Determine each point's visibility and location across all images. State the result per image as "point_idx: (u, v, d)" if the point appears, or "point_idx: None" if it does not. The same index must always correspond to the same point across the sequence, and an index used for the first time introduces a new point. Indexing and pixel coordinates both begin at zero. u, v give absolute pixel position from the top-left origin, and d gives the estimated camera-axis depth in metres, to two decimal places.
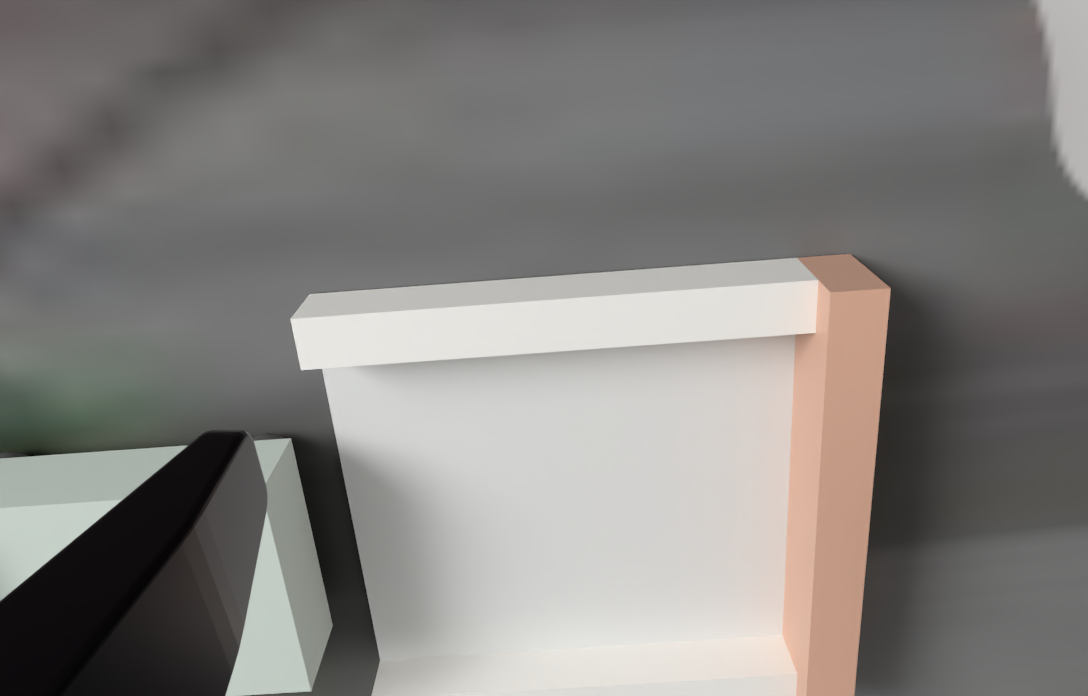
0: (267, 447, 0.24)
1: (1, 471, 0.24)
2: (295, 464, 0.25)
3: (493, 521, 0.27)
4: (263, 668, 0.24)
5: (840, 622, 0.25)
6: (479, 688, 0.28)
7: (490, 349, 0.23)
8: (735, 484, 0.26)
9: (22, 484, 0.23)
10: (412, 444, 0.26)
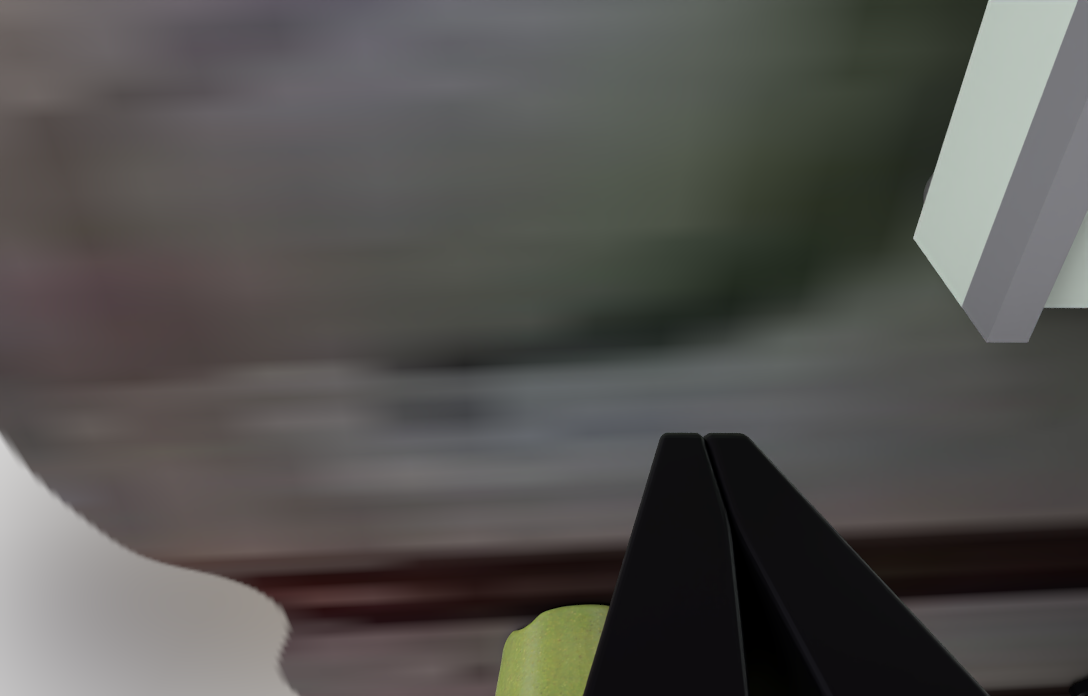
0: None
1: None
2: None
3: None
4: None
5: None
6: None
7: None
8: None
9: None
10: None
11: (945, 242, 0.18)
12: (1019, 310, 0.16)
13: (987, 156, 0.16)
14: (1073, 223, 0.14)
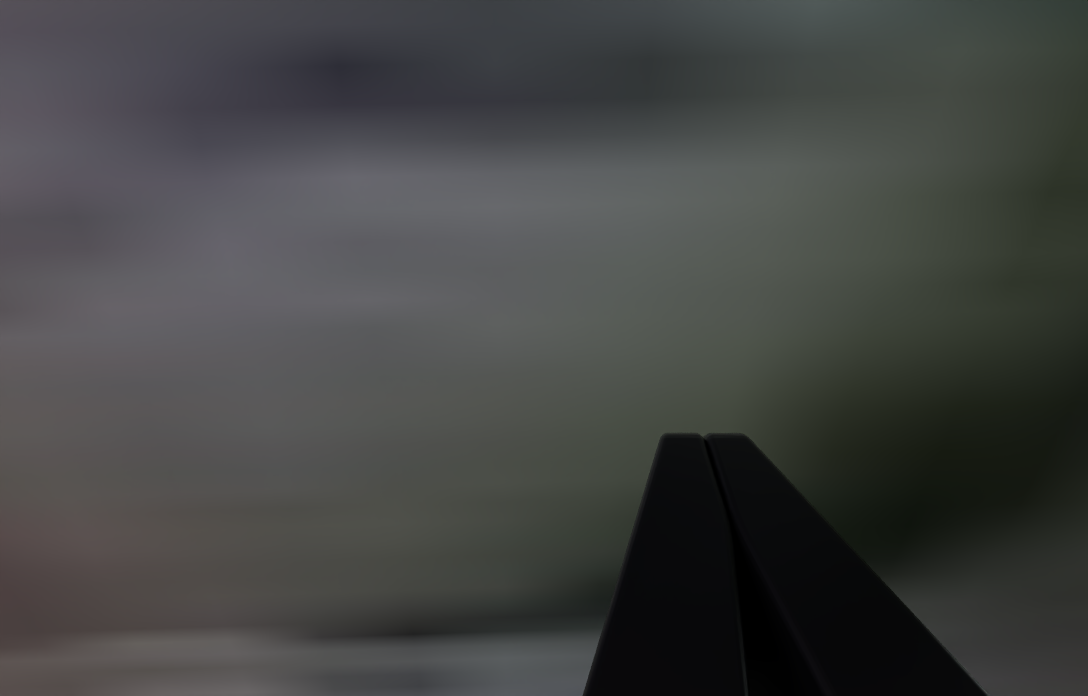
0: None
1: None
2: None
3: None
4: None
5: None
6: None
7: None
8: None
9: None
10: None
11: None
12: None
13: None
14: None
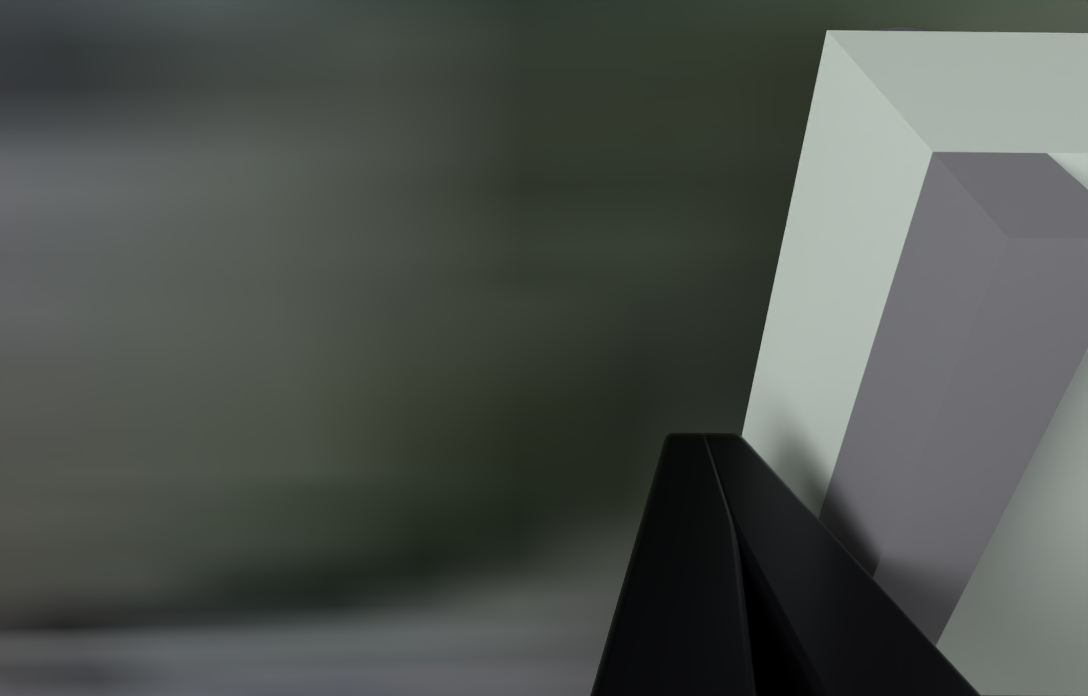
0: None
1: (1049, 59, 0.07)
2: None
3: None
4: None
5: None
6: None
7: None
8: None
9: None
10: None
11: None
12: None
13: (790, 470, 0.09)
14: None
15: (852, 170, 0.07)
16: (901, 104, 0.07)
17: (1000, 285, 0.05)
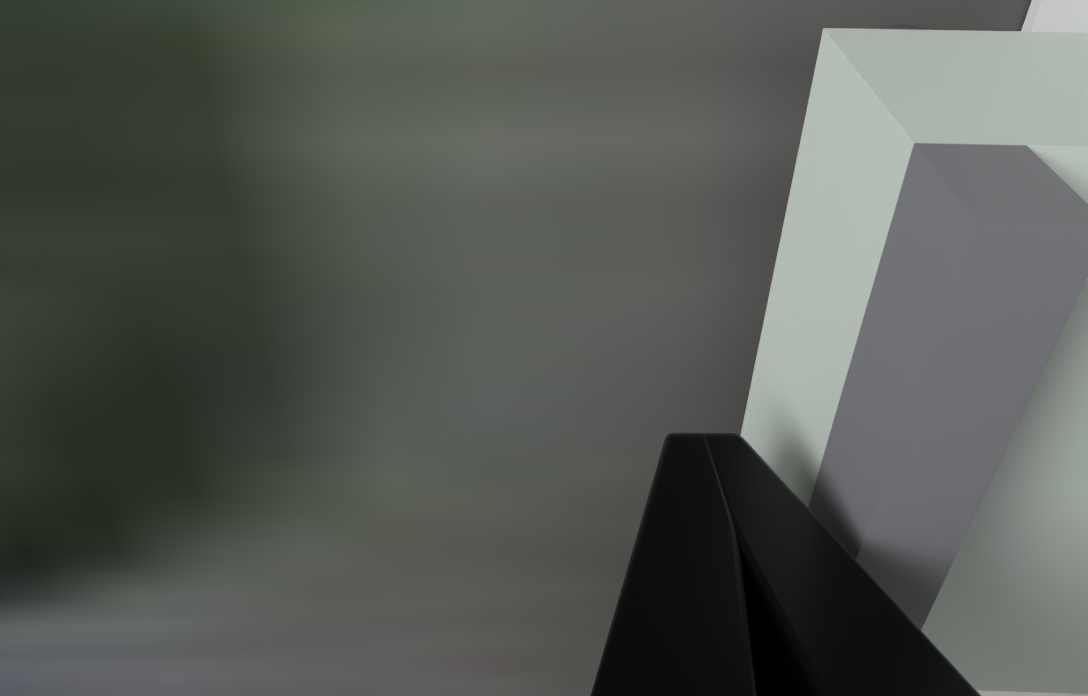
0: None
1: (1040, 57, 0.08)
2: None
3: None
4: None
5: None
6: None
7: None
8: None
9: None
10: None
11: None
12: None
13: (784, 462, 0.09)
14: None
15: (843, 164, 0.08)
16: (888, 98, 0.07)
17: (972, 271, 0.05)
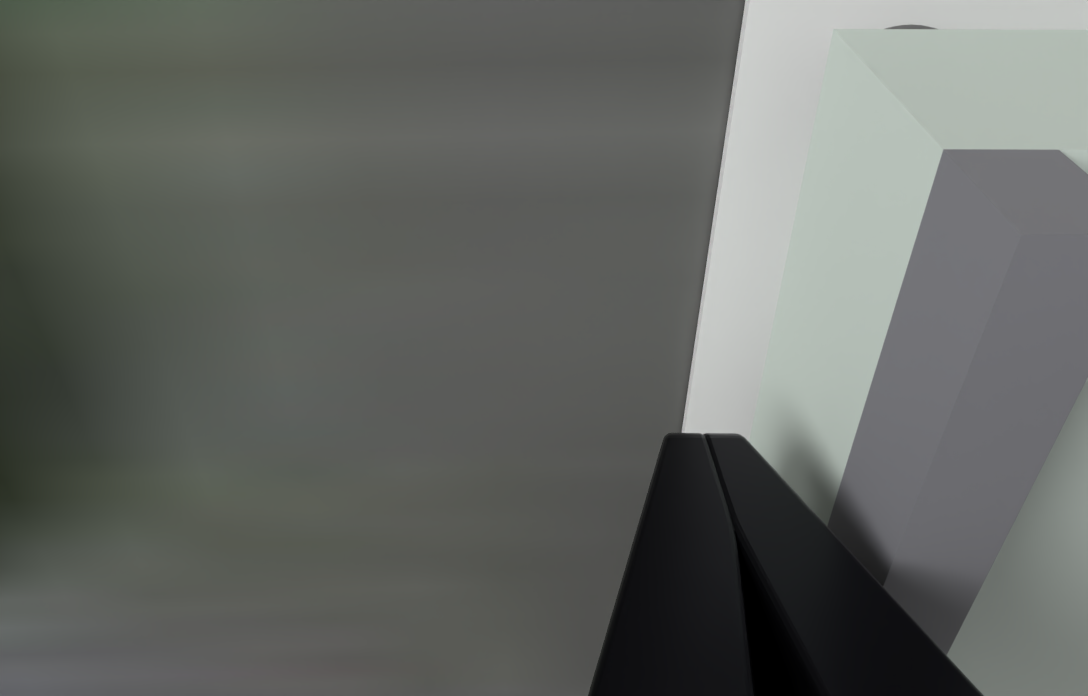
0: None
1: (1058, 56, 0.07)
2: None
3: None
4: None
5: None
6: None
7: None
8: None
9: None
10: None
11: None
12: None
13: (799, 473, 0.09)
14: None
15: (860, 169, 0.07)
16: (910, 102, 0.07)
17: (1014, 283, 0.05)
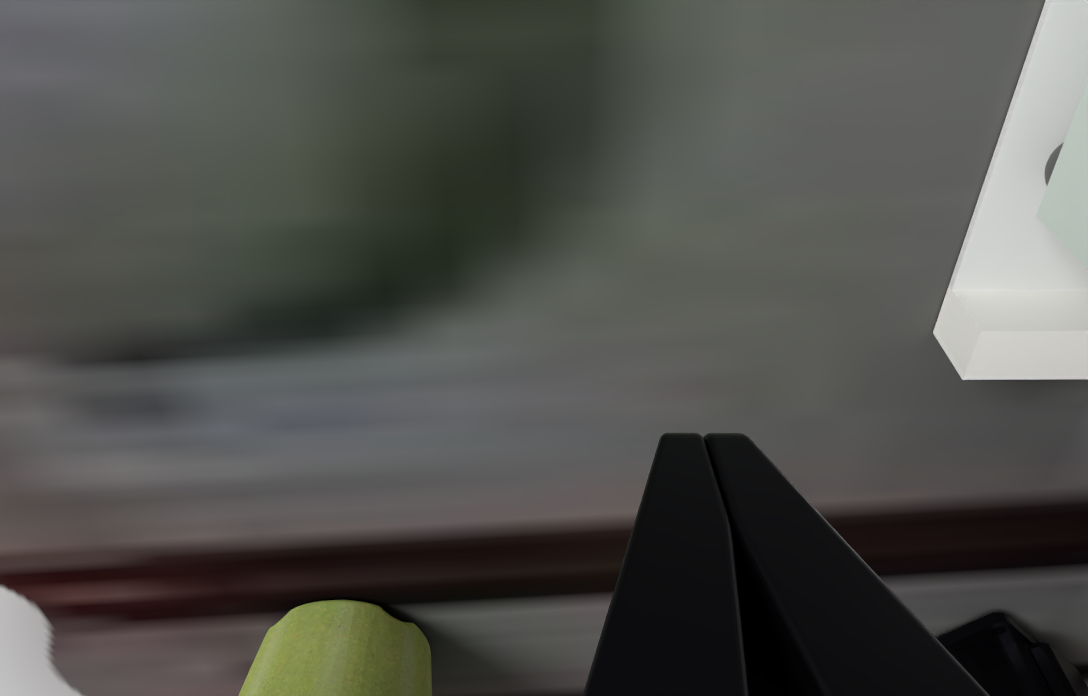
0: None
1: None
2: None
3: None
4: None
5: None
6: None
7: None
8: None
9: None
10: None
11: (1078, 217, 0.17)
12: None
13: None
14: None
15: None
16: None
17: None
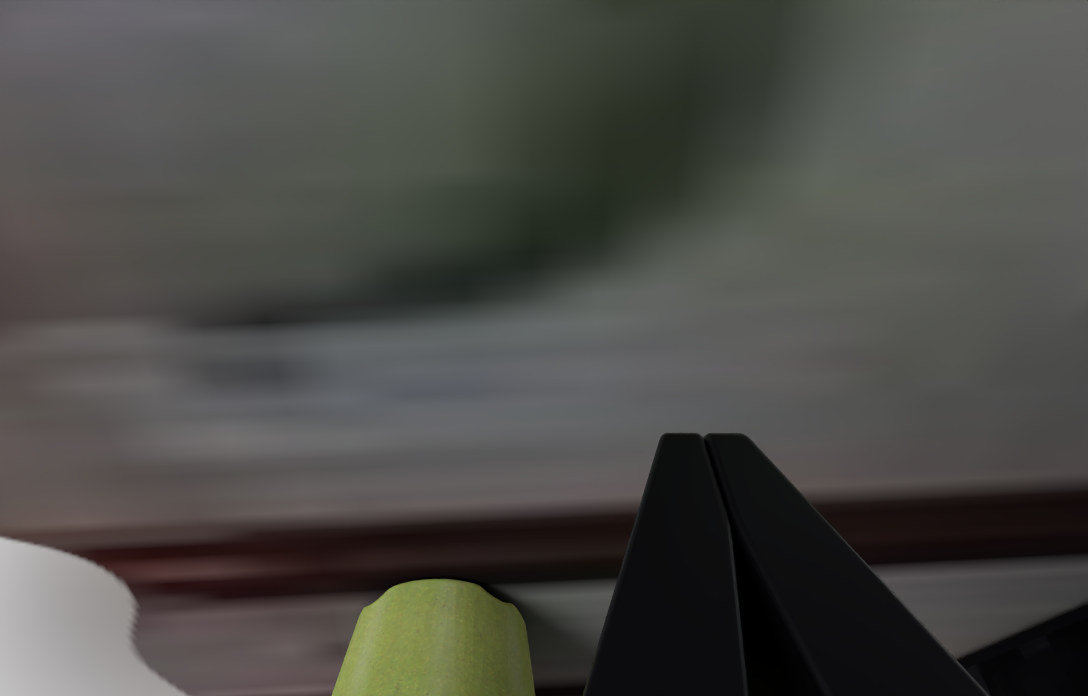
0: None
1: None
2: None
3: None
4: None
5: None
6: None
7: None
8: None
9: None
10: None
11: None
12: None
13: None
14: None
15: None
16: None
17: None
